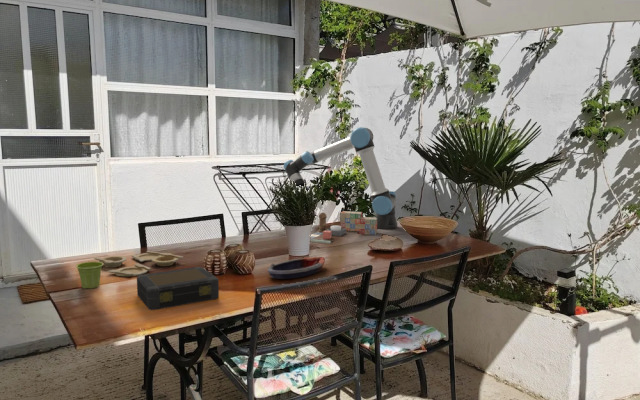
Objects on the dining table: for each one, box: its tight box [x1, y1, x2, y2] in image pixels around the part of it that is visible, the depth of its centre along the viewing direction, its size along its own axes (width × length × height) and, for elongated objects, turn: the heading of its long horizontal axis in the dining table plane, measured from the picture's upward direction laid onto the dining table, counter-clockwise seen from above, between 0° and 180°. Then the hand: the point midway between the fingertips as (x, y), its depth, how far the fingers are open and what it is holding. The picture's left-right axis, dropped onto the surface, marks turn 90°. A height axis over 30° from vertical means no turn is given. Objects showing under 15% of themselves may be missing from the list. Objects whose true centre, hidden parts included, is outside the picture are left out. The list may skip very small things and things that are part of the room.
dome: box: [330, 224, 341, 231], centre depth 285 cm, size 6×6×4 cm
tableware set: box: [93, 250, 184, 277], centre depth 223 cm, size 35×29×4 cm
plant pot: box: [75, 261, 104, 289], centre depth 191 cm, size 9×9×9 cm
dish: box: [267, 256, 326, 280], centre depth 212 cm, size 16×31×5 cm, turn 132°
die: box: [322, 231, 332, 240], centre depth 274 cm, size 4×4×4 cm
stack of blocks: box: [339, 210, 378, 236], centre depth 296 cm, size 21×6×12 cm, turn 73°
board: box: [310, 227, 347, 245], centre depth 281 cm, size 17×24×4 cm
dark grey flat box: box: [136, 266, 220, 311], centre depth 181 cm, size 25×20×8 cm
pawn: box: [317, 212, 328, 233], centre depth 291 cm, size 5×5×11 cm
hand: (311, 209), depth 298 cm, fingers open, 13 cm apart
